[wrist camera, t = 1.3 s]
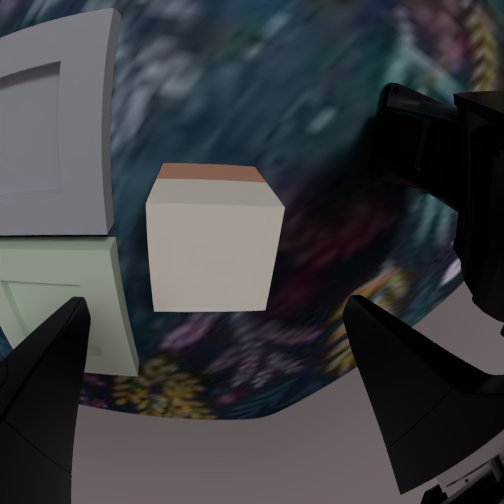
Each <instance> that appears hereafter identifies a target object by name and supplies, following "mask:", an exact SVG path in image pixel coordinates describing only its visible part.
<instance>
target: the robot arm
mask: <svg viewBox="0 0 504 504" xmlns="http://www.w3.org/2000/svg"><path fill="white" fill-rule="evenodd" d="M393 88H395V93H393ZM453 96H454V104H455V105H456V106H457V108H454V107H450V106H446V105H443V104H441V103H439V102H437V101H435V100H433V99H431V98H429V97H427V96H425V95H423V94H421V93H419V92H416V91H414V90H412V89H410V88H407V87H405V86H403V85H400V84H398V83H388V84H387V86H386V91H385V97H384V103H383V108H382V111H381V116H380V121H379V126H378V131H377V136H376V141H375V146H374V147H375V149H374V153H373V158H372V162H371V166H370V172H369V173H370V176H371V177H372V178H373V179H375V180H377V181H383V182H388V183H394V184H399V185H404V186H409V187H414V188H419V189H422V190H424V191H425V192H427V193H429V194H430V195H432V196H434V197H435V198H437V199H438V200H440V201H441V202H443V203H445V204H446V205H448V206H449V207H451V208H452V209H454V210H455V211H457V212H458V220H457V230H456V238H455V239H454V243H453V249H454V251H455V252H456V254H457V256H458V258H459V259H460V261H461V270H462V275H463V280H464V281H465V283H466V284H467V286H468V288H469V290H470V292H471V293H472V294H473V297H472V301H473V302H474V304H475V305H477V306H478V307H479V308H480V309H481V310H482V311H483V312H485V313H486V314H488V315H489V316H491V317H493V318H494V319H496V320H498V321H501V322H504V92H503V91H482V92H467V93H456V94H453ZM378 169H379V173H378V174H377V175H376V171H377V170H378ZM343 321H344V325H345V328H346V332H347V335H348V339H349V343H350V346H351V350H352V353H353V356H354V359H355V361H356V364H357V367H358V369H359V372H360V374H361V377H362V380H363V382H364V385H365V388H366V390H367V393H368V396H369V399H370V402H371V404H372V407H373V410H374V413H375V416H376V419H377V421H378V425H379V427H380V430H381V434H382V436H383V440H384V443H385V445H386V448H387V452H388V455H389V459H390V462H391V465H392V468H393V471H394V475H395V478H396V482H397V485H398V488H399V491H400V494H401V495H402V494H404V493H406V492H408V491H410V490H412V489H414V488H416V487H418V486H420V485H422V484H423V483H425V482H427V481H429V480H431V479H433V478H435V477H436V479H437V481H438V484H437V485H435V486H434V487H432V488H430V489H429V490H427V491H425V493H424V496H423V499H422V501H421V504H504V375H491V374H487V373H485V372H483V371H481V370H479V369H478V368H476V367H474V366H472V365H471V364H468V363H467V362H465V361H463V360H462V359H460V358H458V357H457V356H455V355H453V354H451V353H450V352H448V351H447V350H445V349H444V348H442V347H440V346H439V345H438V344H436V343H433V341H431V340H430V339H428V338H427V337H425V336H424V335H422V334H421V333H419V332H418V331H416V330H415V329H413V328H412V327H410V326H409V325H407V324H405V323H404V322H402V321H401V320H399V319H398V318H396V317H395V316H393V315H392V314H390V313H388V312H387V311H385V310H384V309H382V308H381V307H379V306H377V305H376V304H374V303H373V302H371V301H370V300H368V299H366V298H365V297H363V296H362V295H352V296H350V297H349V299H348V301H347V304H346V306H345V309H344V311H343ZM90 325H91V316H90V313H89V309H88V306H87V302H86V300H85V298H84V297H78V296H73V297H72V298H70V299H69V300H68V301H67V302H66V303H64V304H63V305H62V306H61V307H60V308H59V309H57V310H56V311H55V312H54V313H53V314H52V315H50V316H49V317H48V318H47V319H46V320H45V321H44V322H43V323H41V324H40V325H39V326H38V327H37V328H36V329H35V330H34V331H33V332H31V333H30V334H29V335H28V336H27V337H26V338H25V339H24V340H23V341H22V342H21V343H20V344H19V345H17V346H16V347H15V348H14V349H13V350H12V351H11V352H10V353H9V354H8V355H7V358H6V357H5V358H4V359H3V360H2V361H1V362H0V504H71V477H72V475H71V473H72V472H71V471H72V456H73V444H74V434H75V426H76V418H77V410H78V404H79V398H80V392H81V386H82V381H83V375H84V370H85V365H86V358H87V349H88V340H89V332H90ZM500 333H501V335H502V336H503V337H504V325H503V327H502V329H501V332H500Z"/></svg>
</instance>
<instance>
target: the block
mask: <svg viewBox="0 0 504 504" xmlns="http://www.w3.org/2000/svg"><path fill="white" fill-rule="evenodd" d="M284 210H285V207H284V206H283V204H282V203H281V202H280V200H279V199H278V198H277V196H276V195H275V193H274V192H273V191H272V189H271V188H270V187H269V185H268V184H267V183H266V181H265V180H264V179H263V177H262V176H261V175H260V173H259V172H258V171H257V169H256V168H255V167H249V166H234V165H215V164H185V163H163V165H162V167H161V169H160V172H159V174H158V176H157V178H156V181H155V183H154V185H153V188H152V190H151V192H150V195H149V197H148V199H147V202H146V221H147V240H148V255H149V267H150V279H151V288H152V298H153V306H154V312H225V311H260V310H265V309H266V304H267V299H268V294H269V289H270V284H271V279H272V274H273V269H274V264H275V258H276V253H277V248H278V242H279V237H280V232H281V226H282V221H283V215H284Z"/></svg>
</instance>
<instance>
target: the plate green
mask: <svg viewBox="0 0 504 504" xmlns="http://www.w3.org/2000/svg"><path fill="white" fill-rule="evenodd" d="M73 296H78V297H84V298H85V300H86V302H87V306H88V309H89V313H90V316H91V325H90V332H89V340H88V349H87V358H86V365H85V370H84V372H88V373H97V374H109V375H122V376H138V368H139V359H138V355H137V351H136V347H135V343H134V339H133V335H132V330H131V326H130V321H129V316H128V312H127V307H126V301H125V296H124V290H123V285H122V279H121V272H120V266H119V259H118V251H117V243H116V237H0V326H1V328H2V330H3V332H4V334H5V335H6V337H7V339H8V341H9V343H10V344H11V346H12V348H13V349H14V348H15V347H16V346H17V345H19V344H20V343H21V342H22V341H23V340H24V339H25V338H26V337H27V336H28V335H29V334H30V333H31V332H33V331H34V330H35V329H36V328H37V327H38V326H39V325H40V324H41V323H43V322H44V321H45V320H46V319H47V318H48V317H49V316H50V315H52V314H53V313H54V312H55V311H56V310H57V309H59V308H60V307H61V306H62V305H63V304H64V303H66V302H67V301H68V300H69V299H70V298H72V297H73Z"/></svg>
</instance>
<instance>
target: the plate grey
mask: <svg viewBox="0 0 504 504" xmlns="http://www.w3.org/2000/svg"><path fill="white" fill-rule="evenodd" d="M120 21H121V14H120V13H118V12H117V11H116V10H115V9H114V8H109V9H103V10H97V11H91V12H86V13H81V14H76V15H71V16H67V17H63V18H59V19H55V20H52V21H48V22H45V23H41V24H38V25H35V26H32V27H29V28H26V29H23V30H20V31H17V32H15V33H12V34H10V35H7V36H4V37H2V38H0V235H108V233H109V231H110V229H111V227H112V225H113V223H114V214H113V201H112V185H111V157H110V128H111V101H112V85H113V73H114V63H115V55H116V47H117V40H118V33H119V27H120Z"/></svg>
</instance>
